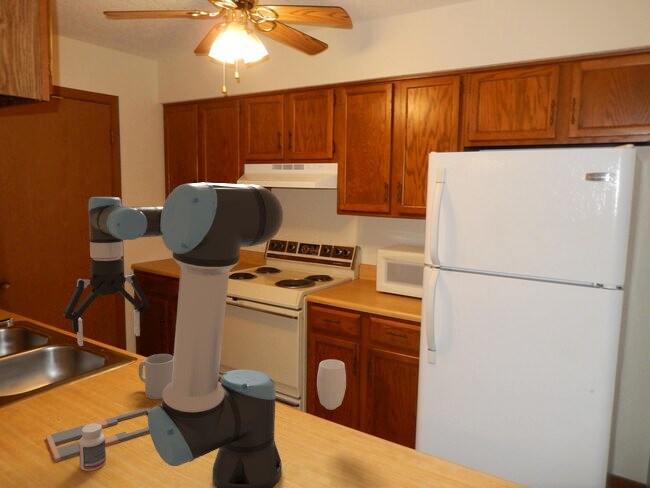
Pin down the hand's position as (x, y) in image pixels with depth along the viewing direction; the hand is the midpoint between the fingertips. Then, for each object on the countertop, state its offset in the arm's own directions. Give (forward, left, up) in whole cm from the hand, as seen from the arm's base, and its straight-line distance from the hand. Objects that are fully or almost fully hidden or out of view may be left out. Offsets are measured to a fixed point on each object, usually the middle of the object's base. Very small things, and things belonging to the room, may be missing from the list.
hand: (109, 339), depth 119 cm
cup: (-41, -41, -23) cm, 62 cm away
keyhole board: (-4, +2, -23) cm, 24 cm away
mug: (+12, -16, -23) cm, 31 cm away
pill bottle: (-16, +8, -23) cm, 30 cm away
